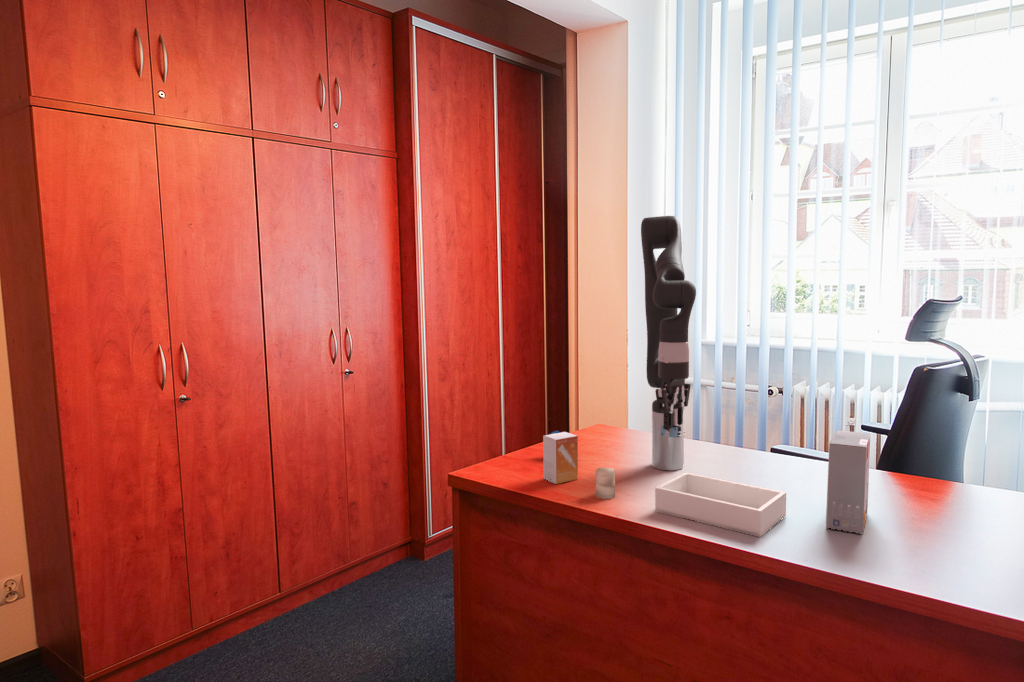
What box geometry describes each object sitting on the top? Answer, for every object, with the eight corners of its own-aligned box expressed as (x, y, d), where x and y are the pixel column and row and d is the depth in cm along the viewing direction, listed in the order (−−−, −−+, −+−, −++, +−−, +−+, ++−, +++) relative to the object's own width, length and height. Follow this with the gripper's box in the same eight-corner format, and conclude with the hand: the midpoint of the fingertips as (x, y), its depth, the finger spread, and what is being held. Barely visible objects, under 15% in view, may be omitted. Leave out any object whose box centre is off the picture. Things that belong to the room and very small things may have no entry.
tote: (685, 494, 172) (685, 472, 172) (785, 516, 155) (786, 492, 154) (655, 511, 160) (655, 487, 160) (760, 537, 143) (760, 511, 142)
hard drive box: (863, 535, 143) (866, 447, 141) (825, 529, 147) (827, 443, 145) (868, 513, 156) (870, 432, 154) (833, 508, 160) (835, 429, 158)
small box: (556, 484, 182) (555, 439, 181) (543, 479, 188) (542, 435, 187) (578, 479, 187) (578, 435, 186) (565, 474, 192) (564, 431, 191)
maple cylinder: (602, 491, 176) (602, 466, 175) (618, 495, 173) (618, 469, 172) (592, 496, 172) (592, 470, 172) (608, 500, 169) (608, 474, 168)
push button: (689, 437, 165) (690, 398, 164) (677, 440, 161) (678, 400, 161) (667, 432, 170) (667, 395, 169) (655, 436, 166) (655, 397, 166)
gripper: (674, 356, 172) (674, 419, 173) (645, 361, 161) (645, 428, 163) (700, 358, 167) (699, 423, 168) (672, 363, 156) (672, 432, 158)
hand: (673, 425), depth 165 cm, fingers closed on push button, 4 cm apart
